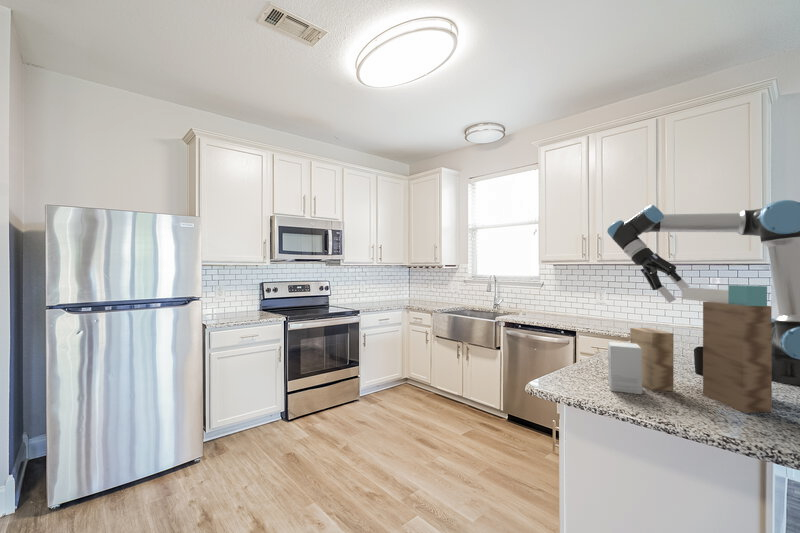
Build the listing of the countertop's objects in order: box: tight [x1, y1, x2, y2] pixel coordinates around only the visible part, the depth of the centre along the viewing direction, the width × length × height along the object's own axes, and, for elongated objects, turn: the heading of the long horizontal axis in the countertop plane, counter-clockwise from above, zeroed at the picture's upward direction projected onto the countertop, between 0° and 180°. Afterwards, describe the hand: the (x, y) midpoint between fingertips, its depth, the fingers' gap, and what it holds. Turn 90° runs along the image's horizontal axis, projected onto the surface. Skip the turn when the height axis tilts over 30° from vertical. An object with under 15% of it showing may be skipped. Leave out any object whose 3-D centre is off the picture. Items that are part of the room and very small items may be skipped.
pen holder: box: [693, 345, 703, 376], centre depth 142 cm, size 9×9×10 cm
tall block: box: [702, 301, 773, 413], centre depth 111 cm, size 8×14×30 cm, turn 178°
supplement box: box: [607, 341, 643, 395], centre depth 123 cm, size 9×9×15 cm
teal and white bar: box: [681, 284, 768, 306], centre depth 117 cm, size 26×6×6 cm, turn 179°
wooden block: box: [629, 327, 674, 392], centre depth 128 cm, size 7×12×19 cm, turn 178°
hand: (679, 295), depth 139 cm, fingers open, 13 cm apart
